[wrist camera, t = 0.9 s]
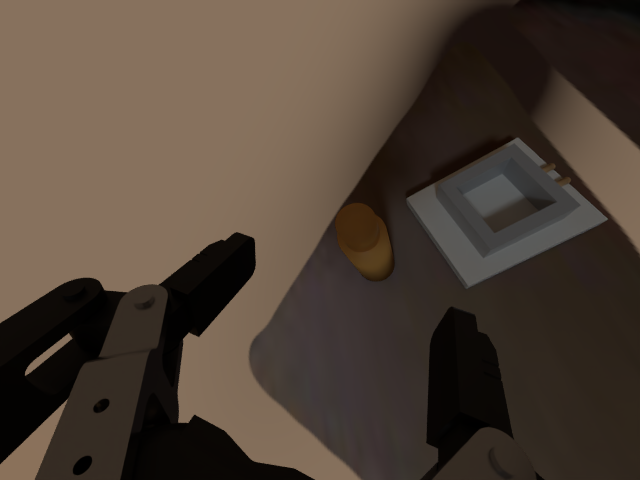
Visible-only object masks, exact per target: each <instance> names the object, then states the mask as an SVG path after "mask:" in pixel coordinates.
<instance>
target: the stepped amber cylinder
mask: <svg viewBox="0 0 640 480" xmlns="http://www.w3.org/2000/svg"><path fill="white" fill-rule="evenodd" d="M335 228H336V231H337V232H338V235H337V240H338V244H339V247H340V248H341V250H342V251H343V252H344V254H345V255H346V256H347V257H348V258H349V260H350V261H351V262H352V263H353V265H354V266H355V267H356V268H357V270H358V271H359V272H360V273H361V275H362V276H363V277H364V278H366V279H368V280H370V281H375V282H376V281H382V280H385V279H386V278H388V277H389V276H390V275H391V274H392V272H393V270H394V265H395V262H394V257H393V253H392V249H391V245H390V240H389V236H388V232H387V228H386V225H385V223H384V222H383V220H382V219H381V218H380V217H378V216H377V215H375V214H374V212H373V210H372V209H371V208H370V207H369V206H367V205H365V204H362V203H352V204H349V205H347V206H345V207H344V208H342V209H341V210H340V211H339V213H338V214H337V217H336V219H335Z"/></svg>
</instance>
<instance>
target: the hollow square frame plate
mask: <svg viewBox="0 0 640 480" xmlns="http://www.w3.org/2000/svg"><path fill="white" fill-rule="evenodd" d="M555 167H556V166H555V164H553V163H551V164H547V163H545V162H544V161H543V160H542V159H541V158H540V157H539V156H538V155H537V154H536V153H534V152H533V151H532V150H531V149H530V148H529V147H528V146H527V145H526V144H525V143H523V142H522V141H521V140H520V139H519V138H516V139H514V140H512V141H511V142H509V143H507V144H505V145H503V146H501V147H500V148H498V149H496V150H494V151H492V152H490V153H489V154H487V155H485V156H483V157H481V158H479V159H478V160H476V161H474V162H472V163H470V164H468V165H467V166H465V167H463V168H461V169H459V170H458V171H456V172H454V173H452V174H450V175H448V176H447V177H445V178H443V179H441V180H439V181H437V182H436V183H434V184H432V185H430V186H428V187H426V188H425V189H423V190H421V191H419V192H417V193H415V194H414V195H412V196H410V197H408V198H406V199H407V205H408V207H409V208H410V209H411V211H412V212H413V214H414V215H415V217H416V218H417V219H418V221H419V222H420V224H421V225H422V227H423V228H424V229H425V231H426V232H427V234H428V235H429V237H430V238H431V240H432V241H433V242H434V244H435V245H436V247H437V248H438V250H439V251H440V252H441V254H442V255H443V257H444V258H445V260H446V261H447V262H448V264H449V265H450V267H451V268H452V270H453V271H454V272H455V274H456V275H457V277H458V278H459V280H460V281H461V283H462V284H463V285H464V287H465V288H466V289H467V288H469V287H471V286H473V285H475V284H477V283H479V282H481V281H484V280H486V279H488V278H490V277H492V276H494V275H496V274H498V273H500V272H502V271H504V270H506V269H508V268H511V267H513V266H515V265H517V264H519V263H521V262H523V261H525V260H527V259H529V258H531V257H533V256H535V255H538V254H540V253H542V252H544V251H546V250H548V249H550V248H552V247H554V246H556V245H558V244H560V243H562V242H565V241H567V240H569V239H571V238H573V237H575V236H577V235H579V234H581V233H583V232H585V231H587V230H589V229H591V228H594V227H596V226H598V225H599V224H601V223H603V222H604V221H606V220H608V219H607V218H606V217H605V216H604V215H603V214H602V213H601V212H600V211H598V210H597V209H596V208H595V207H594V206H593V205H592V204H591V203H590V202H589V201H587V200H586V199H585V198H584V197H583V196H582V195H581V194H580V193H579V192H577V191H576V190H575V189H574V188H573V187H572V186H571V185H570V184H569V183H570V181H571V179H570V178H569V177H564V178H562V177H561V176H560V175H559V174H558V173H557V172H555V171H554V170H553V169H555Z"/></svg>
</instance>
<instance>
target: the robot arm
mask: <svg viewBox="0 0 640 480" xmlns="http://www.w3.org/2000/svg"><path fill="white" fill-rule="evenodd" d="M255 266H256V260H255V240H254V238H252V237H250V236H247V235H244V234H241V233H238V232H236V233H234V234H233V235H231V236H230V237H229V238H228V239H227V240H225V241H224V240H220V241H218V242H215V243H213V244H210V245H208V246H207V247H206V248H205V249H203V250H202V251H201V252H200V254H197V255H196V256H195V257H193V258H192V260H190V261H188V262H187V263H186V264H185V265H183V266H182V267H181V268H180V269H178V270H177V271H176V272H174V273H173V274H172V275H171V276H170V277H168V278H167V279H166V280H164V281H163V282H162V283H161V284H159V285H153V284H152V285H144V286H140V287H137V288H135V289H133V290H131V291H130V292H116V291H105V290H104V289H103V287H102V285H101V283H100V282H99V281H98V280H96V279H93V278H80V279H75V280H71V281H69V282H66V283H64V284H62V285H60V286H58V287H57V288H55V289H54V290H52V291H50V292H49V293H47V294H46V295H44V296H43V297H41V298H39V299H38V300H36V301H35V302H33V303H31V304H30V305H28V306H27V307H25V308H24V309H22V310H20V311H19V312H17V313H16V314H14V315H13V316H11V317H9V318H8V319H6V320H5V321H3V322H1V323H0V464H1V463H2V462H3V461H4V460H5V459H6V458H7V457H8V456H9V455H10V454H11V453H12V452H13V451H14V450H15V449H16V448H17V447H18V446H20V445H21V444H22V443H23V442H24V441H25V440H26V439H27V438H28V437H29V436H30V435H31V434H32V433H33V432H34V431H35V430H36V429H37V428H38V427H39V426H40V425H41V424H42V423H43V422H44V421H45V420H46V419H47V418H48V417H49V416H50V415H51V414H52V413H54V412H55V411H56V410H57V409H58V408H59V407H60V406H61V405H62V404H63V403H64V402H65V401H66V400H67V399H68V401H67V404H66V405H65V408H64V410H63V413H62V415H61V417H60V420H59V423H58V425H57V427H56V430H55V432H54V435H53V437H52V439H51V442H50V444H49V447H48V449H47V451H46V454H45V456H44V459H43V461H42V463H41V466H40V468H39V471H38V473H37V475H36V478H35V480H315V479H313V478H311V477H309V476H307V475H305V474H303V473H302V472H300V471H298V470H296V469H294V468H288V467H282V466H276V465H270V464H264V463H258V462H254V461H252V460H251V459H250V458H249V457H248V456H247V455H246V454H245V453H244V452H243V451H242V449H241V448H240V447H239V446H238V445H237V444H236V443H235V442H234V441H233V439H232V438H231V437H230V436H229V435H228V434H227V433H226V432H225V431H224V430H222V429H220V428H218V427H216V426H215V425H213V424H211V423H209V422H207V421H205V420H203V419H202V418H200V417H198V416H196V415H194V416H193V417H192V419H191V420H190V422H189V423H178V418H179V404H178V394H177V393H178V383H179V374H180V365H181V358H182V349H183V338H184V337H185V336H186V335H187V334H188V333H191V334H193V335H196V336H198V337H199V336H200V335H201V334H202V333H203V332H204V331H205V329H206V328H207V327H208V326H209V325H210V324H211V322H212V321H213V320H214V319H215V318H216V317H217V316H218V314H219V313H220V312H221V311H222V310H223V309H224V308H225V306H226V305H227V304H228V303H229V302H230V301H231V300H232V299H233V297H234V296H235V295H236V294H237V293H238V292H239V290H240V289H241V288H242V287H243V286H244V285H245V284H246V282H247V281H248V280H249V279H250V278H251V276H252V275H253V273H254V270H255ZM68 333H69V334H70V335H71V337H72V338H73V339H72V340H70V341H69V342H68V343H67V344H65V345H64V346H63V347H62V348H60V349H59V350H58V351H57V352H55V353H54V354H53V355H52V356H50V357H49V358H48V359H47V360H45V361H44V362H43V363H42V364H41V365H39V366H38V367H37V368H36V369H35V370H33V371H32V372H31V373H29V374H28V375H26V376H25V371H26V369H27V367H28V366H29V365H30V363H32V362H33V361H34V360H35V359H36V358H37V357H39V356H40V355H41V354H43V353H44V352H45V351H46V350H48V349H49V348H50V347H51V346H53V345H54V344H55V343H56V342H58V341H59V340H60V339H62V338H63V337H64V336H66V335H67V334H68ZM498 366H499V363H498V358H497V353H496V349H495V348H494V346H493V344H492V342H491V341H490V339H489V337H488V336H487V334H484V333H481V332H478V329H477V322H476V317H475V315H474V314H472V313H469V312H466V311H463V310H460V309H457V308H455V307H450V308H449V309H448V310H447V312H446V313H445V315H444V317H443V318H442V320H441V321H440V323H439V324H438V326H437V328H436V329H435V331H434V333H433V335H432V338H431V342H430V355H429V384H428V413H427V441H426V443H427V444H429V445H431V446H433V447H436V448H438V462H437V463H436V464H435V465H434V466H433V467H432V468H431V469H430V470H429V471H428V472H427V473H426V474H425V475H424V476H423V477H422V478H421V479H420V480H544V479H543V478H542V477H541V476H539V475H538V474H537V473H536V472H535V471H534V468H533V466H532V463H531V461H530V460H529V458H528V456H527V455H526V453H525V452H524V450H523V449H522V448H521V447H520V446H519V444H518V443H517V442H516V441H515V440H514V438H513V434H512V430H511V424H510V419H509V414H508V409H507V404H506V399H505V394H504V389H503V383H502V381H501V373H500V368H498Z"/></svg>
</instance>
